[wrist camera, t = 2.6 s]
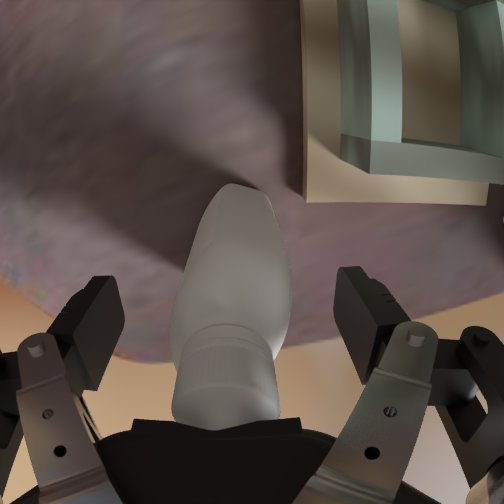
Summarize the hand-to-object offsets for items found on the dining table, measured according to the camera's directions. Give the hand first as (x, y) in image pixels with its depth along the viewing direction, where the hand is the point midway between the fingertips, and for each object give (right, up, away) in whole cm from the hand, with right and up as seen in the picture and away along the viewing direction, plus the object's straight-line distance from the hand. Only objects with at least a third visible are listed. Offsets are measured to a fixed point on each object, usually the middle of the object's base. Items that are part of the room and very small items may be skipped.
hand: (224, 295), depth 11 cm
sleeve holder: (+9, +11, +1) cm, 14 cm away
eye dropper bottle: (0, +2, +5) cm, 6 cm away
